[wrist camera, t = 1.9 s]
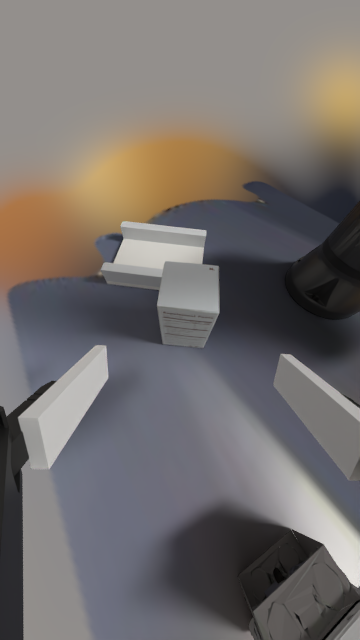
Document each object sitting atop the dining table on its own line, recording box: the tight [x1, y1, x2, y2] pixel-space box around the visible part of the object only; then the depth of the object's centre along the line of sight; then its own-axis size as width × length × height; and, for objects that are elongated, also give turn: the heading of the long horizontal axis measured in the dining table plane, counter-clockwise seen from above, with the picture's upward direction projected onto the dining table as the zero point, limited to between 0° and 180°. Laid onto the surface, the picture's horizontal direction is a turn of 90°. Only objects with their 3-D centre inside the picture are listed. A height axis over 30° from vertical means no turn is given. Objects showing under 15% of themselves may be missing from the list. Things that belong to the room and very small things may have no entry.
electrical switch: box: [239, 530, 360, 640], centre depth 16 cm, size 9×5×9 cm, turn 116°
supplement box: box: [157, 261, 220, 348], centre depth 27 cm, size 7×7×13 cm
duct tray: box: [101, 221, 206, 290], centre depth 38 cm, size 19×15×4 cm
